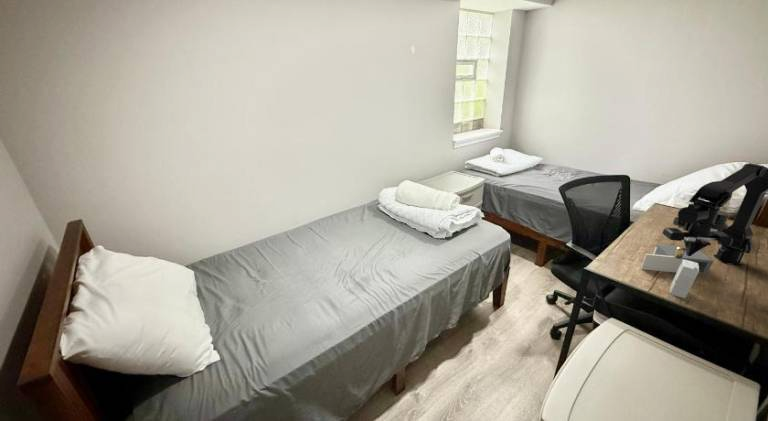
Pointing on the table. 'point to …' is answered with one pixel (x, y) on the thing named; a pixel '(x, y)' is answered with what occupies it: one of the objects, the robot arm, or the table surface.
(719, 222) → the ink bottle
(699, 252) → the case
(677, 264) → the side door
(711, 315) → the table surface
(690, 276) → the skincare box
